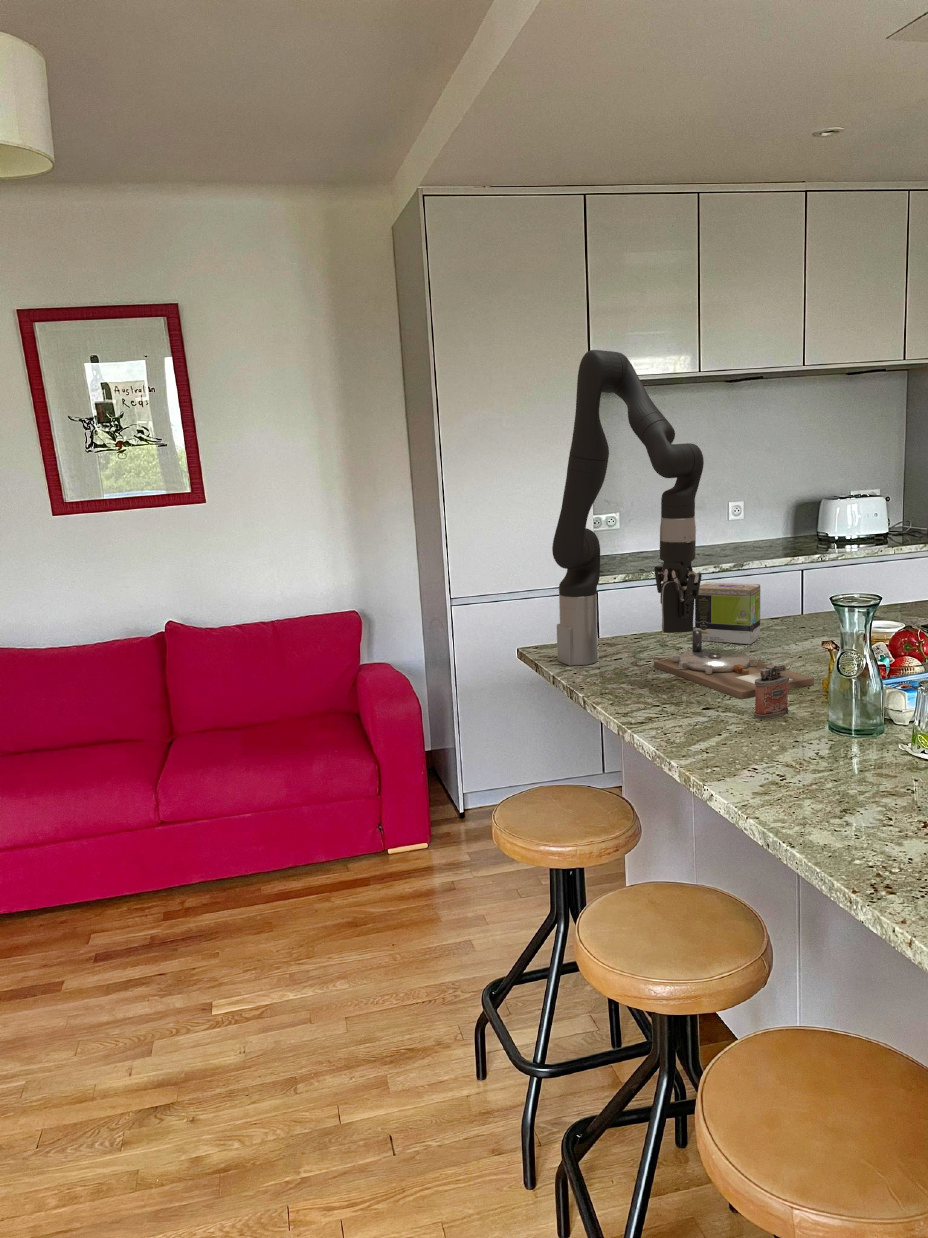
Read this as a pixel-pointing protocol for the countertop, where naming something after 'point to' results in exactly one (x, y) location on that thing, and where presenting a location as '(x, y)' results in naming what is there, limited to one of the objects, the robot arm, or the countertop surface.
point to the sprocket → (713, 658)
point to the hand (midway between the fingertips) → (676, 615)
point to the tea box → (728, 612)
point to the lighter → (771, 693)
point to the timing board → (732, 678)
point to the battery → (674, 610)
